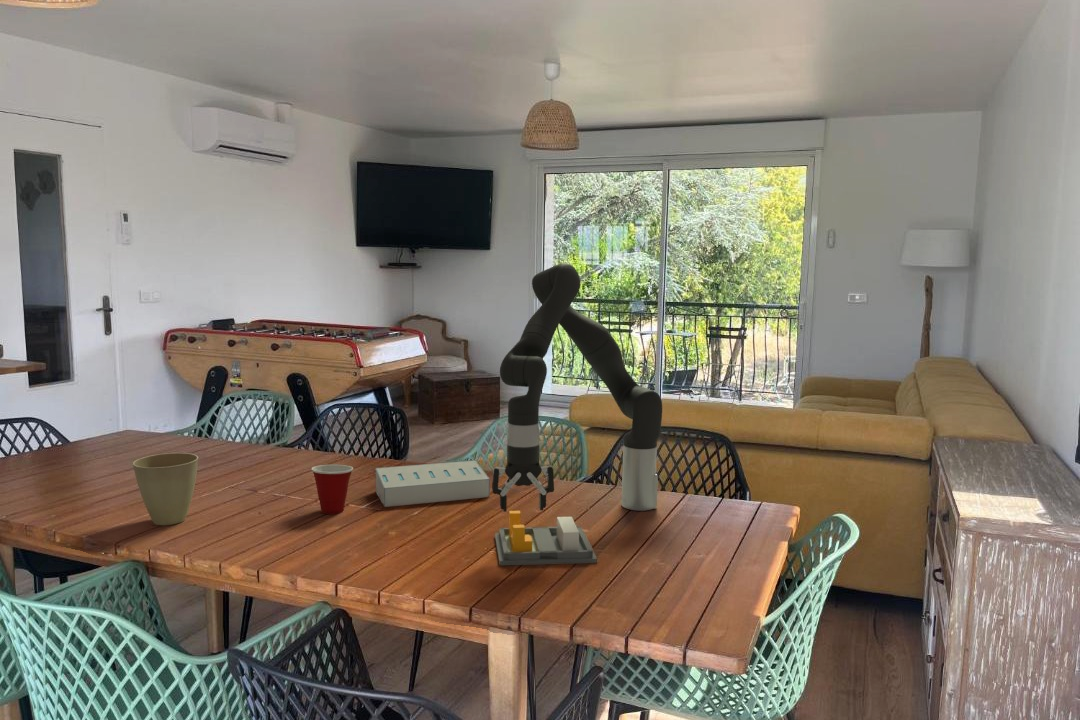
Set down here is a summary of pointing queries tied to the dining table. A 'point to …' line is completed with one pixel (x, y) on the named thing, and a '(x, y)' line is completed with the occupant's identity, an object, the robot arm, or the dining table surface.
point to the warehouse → (431, 483)
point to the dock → (548, 545)
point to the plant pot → (167, 485)
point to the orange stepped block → (518, 534)
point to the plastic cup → (332, 486)
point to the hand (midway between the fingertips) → (522, 510)
